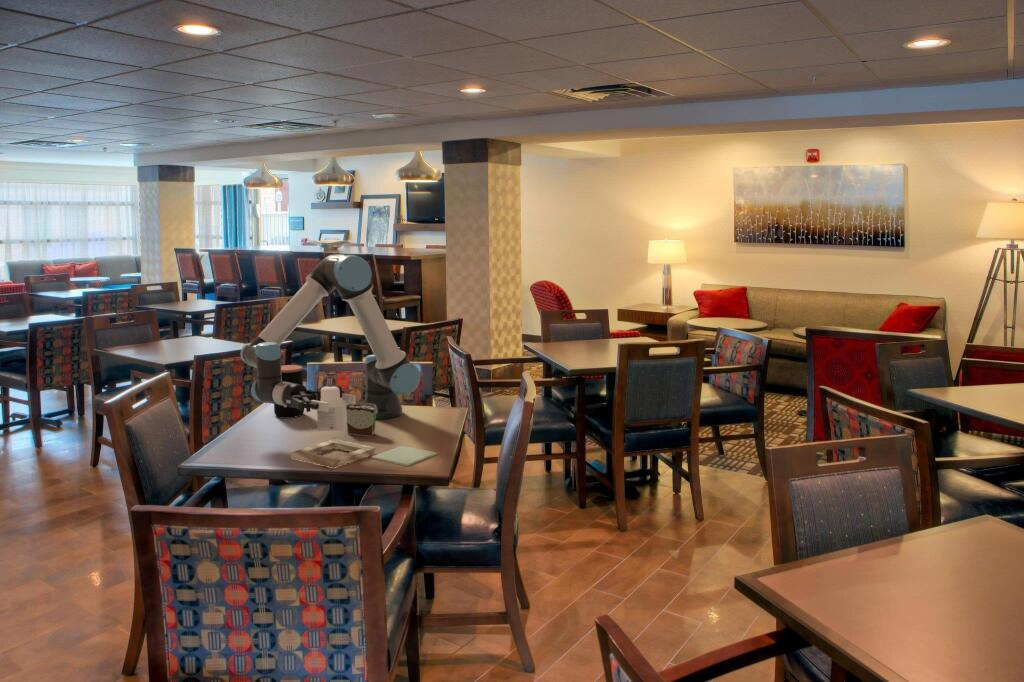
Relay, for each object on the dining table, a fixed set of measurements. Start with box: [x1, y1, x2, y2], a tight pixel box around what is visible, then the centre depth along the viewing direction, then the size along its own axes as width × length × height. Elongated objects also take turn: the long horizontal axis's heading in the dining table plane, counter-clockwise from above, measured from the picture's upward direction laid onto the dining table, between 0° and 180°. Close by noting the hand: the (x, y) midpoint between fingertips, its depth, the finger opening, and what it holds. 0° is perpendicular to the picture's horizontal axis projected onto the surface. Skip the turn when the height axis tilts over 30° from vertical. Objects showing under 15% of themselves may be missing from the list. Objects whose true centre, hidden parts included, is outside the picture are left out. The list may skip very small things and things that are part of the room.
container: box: [316, 384, 347, 432], centre depth 231 cm, size 8×8×13 cm
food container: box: [346, 402, 378, 437], centre depth 260 cm, size 12×6×10 cm, turn 71°
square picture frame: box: [290, 438, 377, 468], centre depth 233 cm, size 18×18×2 cm
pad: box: [371, 445, 438, 467], centre depth 234 cm, size 14×14×1 cm
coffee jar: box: [273, 364, 305, 418], centre depth 283 cm, size 11×11×18 cm
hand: (341, 403), depth 229 cm, fingers closed on container, 10 cm apart
